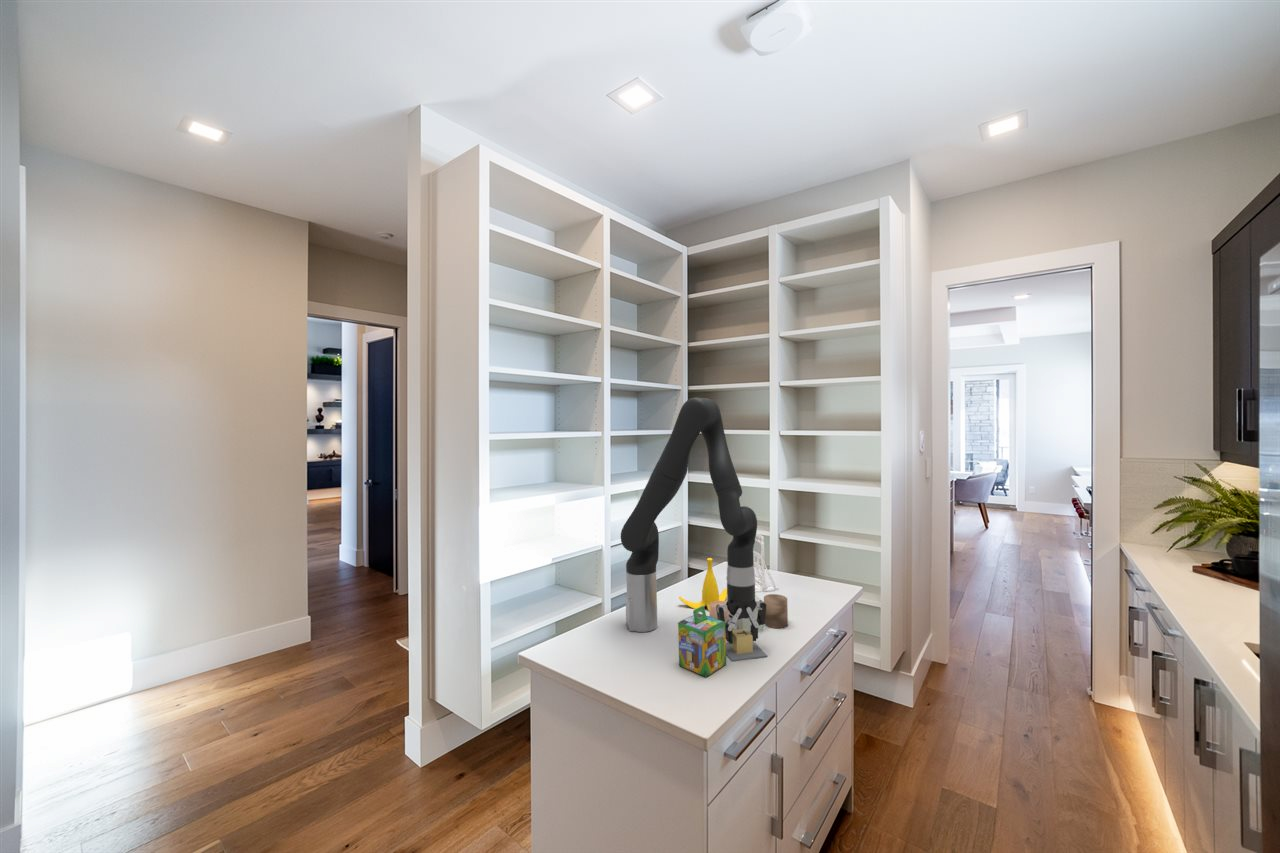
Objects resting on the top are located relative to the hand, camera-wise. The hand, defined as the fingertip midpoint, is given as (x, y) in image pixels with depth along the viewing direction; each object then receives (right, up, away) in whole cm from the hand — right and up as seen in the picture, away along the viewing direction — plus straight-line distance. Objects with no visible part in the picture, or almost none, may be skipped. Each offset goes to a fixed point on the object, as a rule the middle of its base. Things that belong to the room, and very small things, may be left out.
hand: (741, 641), depth 141 cm
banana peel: (-3, -2, +30) cm, 30 cm away
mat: (0, -3, 0) cm, 3 cm away
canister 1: (-4, -2, +13) cm, 13 cm away
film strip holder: (+15, -1, +52) cm, 54 cm away
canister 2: (+14, -2, +17) cm, 22 cm away
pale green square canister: (+5, -2, +15) cm, 16 cm away
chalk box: (-12, -3, -7) cm, 14 cm away
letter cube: (0, -2, 0) cm, 2 cm away
